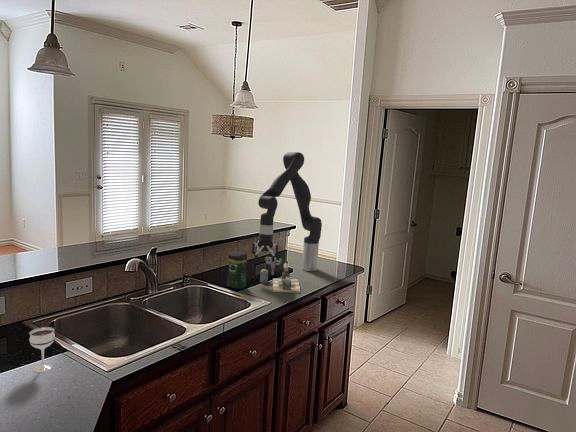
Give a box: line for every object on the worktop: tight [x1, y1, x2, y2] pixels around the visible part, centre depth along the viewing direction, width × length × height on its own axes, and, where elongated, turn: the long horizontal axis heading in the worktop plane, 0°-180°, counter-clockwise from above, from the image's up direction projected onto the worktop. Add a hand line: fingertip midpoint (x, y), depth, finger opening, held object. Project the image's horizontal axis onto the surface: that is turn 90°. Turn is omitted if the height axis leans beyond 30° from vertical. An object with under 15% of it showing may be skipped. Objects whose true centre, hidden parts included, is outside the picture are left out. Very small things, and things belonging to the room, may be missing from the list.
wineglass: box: [28, 326, 56, 373], centre depth 128 cm, size 7×7×12 cm
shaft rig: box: [272, 262, 301, 294], centre depth 222 cm, size 29×14×9 cm, turn 3°
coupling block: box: [259, 268, 269, 284], centre depth 229 cm, size 4×4×7 cm
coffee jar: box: [226, 250, 248, 290], centre depth 216 cm, size 10×8×19 cm
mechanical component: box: [264, 256, 283, 276], centre depth 242 cm, size 3×10×10 cm, turn 78°
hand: (264, 261), depth 227 cm, fingers open, 8 cm apart
